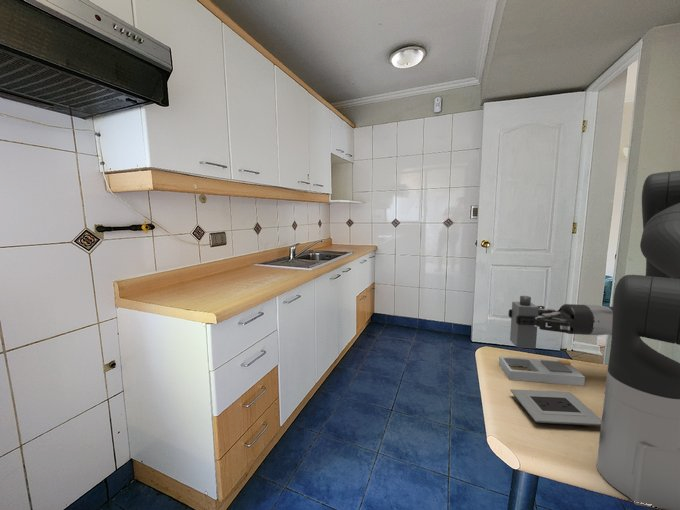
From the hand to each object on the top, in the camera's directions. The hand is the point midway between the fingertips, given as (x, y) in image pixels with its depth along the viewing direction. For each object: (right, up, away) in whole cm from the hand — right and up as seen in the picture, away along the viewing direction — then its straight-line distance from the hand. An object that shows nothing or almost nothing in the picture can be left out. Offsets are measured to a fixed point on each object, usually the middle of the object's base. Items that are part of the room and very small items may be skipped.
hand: (513, 316), depth 77 cm
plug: (+3, -7, 0) cm, 8 cm away
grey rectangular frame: (+7, -16, +1) cm, 17 cm away
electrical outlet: (0, -18, -14) cm, 23 cm away
